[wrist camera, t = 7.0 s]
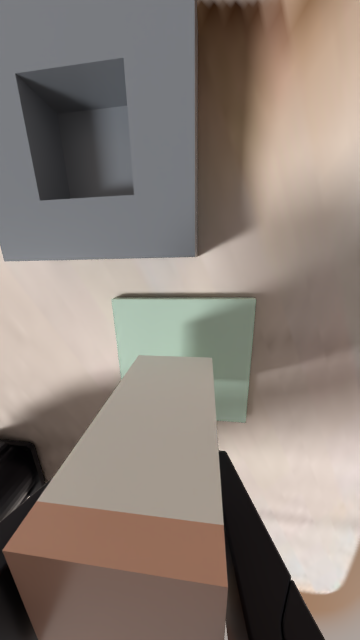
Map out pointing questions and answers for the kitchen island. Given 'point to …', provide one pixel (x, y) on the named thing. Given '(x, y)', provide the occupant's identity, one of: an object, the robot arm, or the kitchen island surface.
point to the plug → (132, 518)
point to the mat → (193, 340)
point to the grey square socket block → (98, 129)
